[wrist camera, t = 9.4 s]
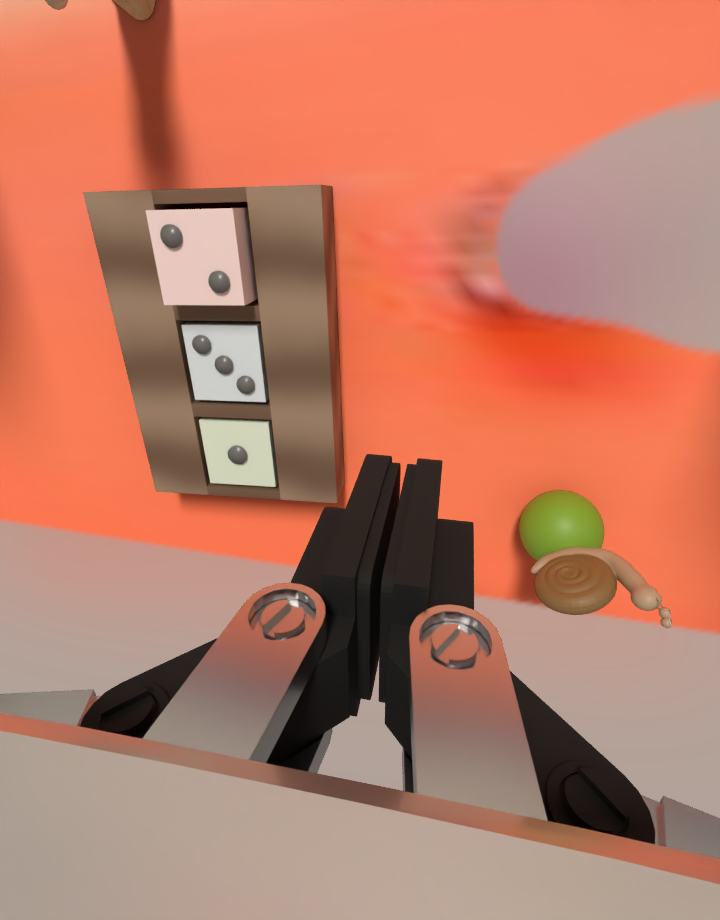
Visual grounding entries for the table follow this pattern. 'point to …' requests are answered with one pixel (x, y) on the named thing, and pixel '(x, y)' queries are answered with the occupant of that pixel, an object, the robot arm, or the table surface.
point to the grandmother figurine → (135, 3)
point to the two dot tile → (203, 256)
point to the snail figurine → (578, 558)
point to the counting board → (278, 308)
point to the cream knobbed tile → (239, 451)
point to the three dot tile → (226, 360)
